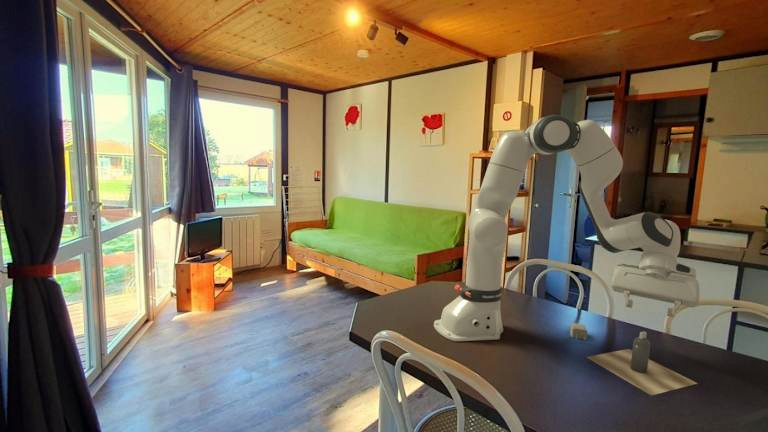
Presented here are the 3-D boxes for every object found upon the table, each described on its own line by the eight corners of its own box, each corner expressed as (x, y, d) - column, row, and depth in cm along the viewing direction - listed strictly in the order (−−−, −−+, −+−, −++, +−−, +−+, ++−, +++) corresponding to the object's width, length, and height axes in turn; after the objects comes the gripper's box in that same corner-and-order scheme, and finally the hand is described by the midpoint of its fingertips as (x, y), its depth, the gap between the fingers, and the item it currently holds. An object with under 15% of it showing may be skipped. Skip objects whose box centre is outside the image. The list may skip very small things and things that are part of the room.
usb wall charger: (583, 336, 118) (585, 324, 117) (588, 346, 111) (589, 333, 111) (569, 334, 119) (571, 322, 119) (573, 344, 113) (574, 331, 112)
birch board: (650, 399, 86) (651, 395, 86) (585, 360, 103) (586, 357, 103) (697, 387, 92) (697, 383, 91) (628, 352, 108) (628, 348, 108)
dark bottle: (640, 374, 95) (645, 336, 93) (627, 367, 98) (631, 330, 97) (650, 371, 96) (655, 334, 95) (637, 364, 99) (641, 328, 98)
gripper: (614, 257, 113) (605, 296, 107) (703, 270, 100) (697, 315, 94) (616, 268, 117) (606, 306, 111) (701, 282, 104) (695, 327, 98)
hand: (648, 311), depth 103 cm, fingers open, 8 cm apart
